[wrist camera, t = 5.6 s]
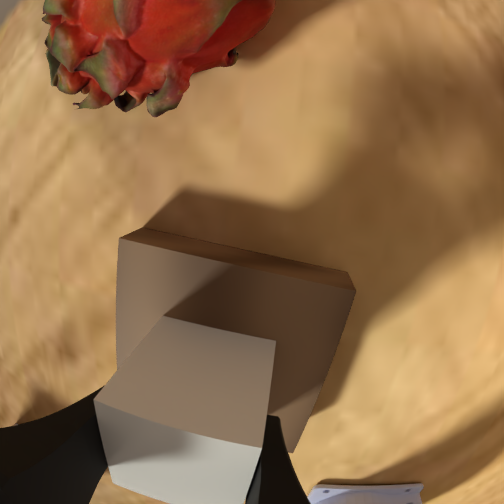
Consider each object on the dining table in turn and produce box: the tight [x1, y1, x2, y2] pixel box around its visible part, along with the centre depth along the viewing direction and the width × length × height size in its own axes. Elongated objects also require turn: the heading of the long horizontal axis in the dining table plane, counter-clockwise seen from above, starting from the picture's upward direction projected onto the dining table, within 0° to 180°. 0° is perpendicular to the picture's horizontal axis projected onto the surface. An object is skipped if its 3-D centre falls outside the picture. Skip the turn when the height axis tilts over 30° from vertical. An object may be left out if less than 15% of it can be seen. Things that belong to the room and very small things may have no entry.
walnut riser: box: [116, 228, 356, 453], centre depth 15 cm, size 10×10×3 cm
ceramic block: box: [93, 316, 276, 504], centre depth 11 cm, size 5×5×6 cm
